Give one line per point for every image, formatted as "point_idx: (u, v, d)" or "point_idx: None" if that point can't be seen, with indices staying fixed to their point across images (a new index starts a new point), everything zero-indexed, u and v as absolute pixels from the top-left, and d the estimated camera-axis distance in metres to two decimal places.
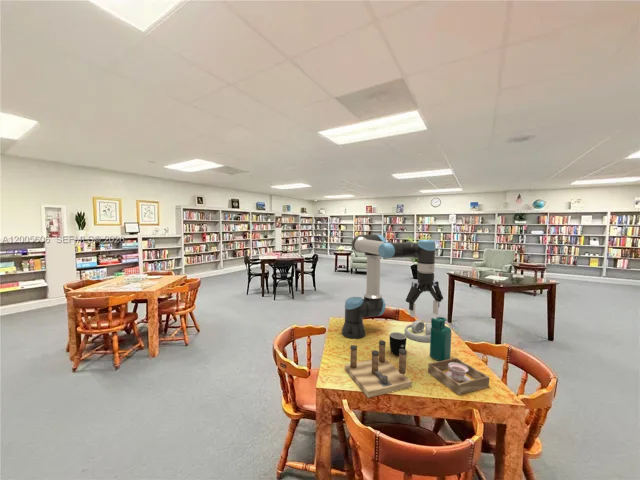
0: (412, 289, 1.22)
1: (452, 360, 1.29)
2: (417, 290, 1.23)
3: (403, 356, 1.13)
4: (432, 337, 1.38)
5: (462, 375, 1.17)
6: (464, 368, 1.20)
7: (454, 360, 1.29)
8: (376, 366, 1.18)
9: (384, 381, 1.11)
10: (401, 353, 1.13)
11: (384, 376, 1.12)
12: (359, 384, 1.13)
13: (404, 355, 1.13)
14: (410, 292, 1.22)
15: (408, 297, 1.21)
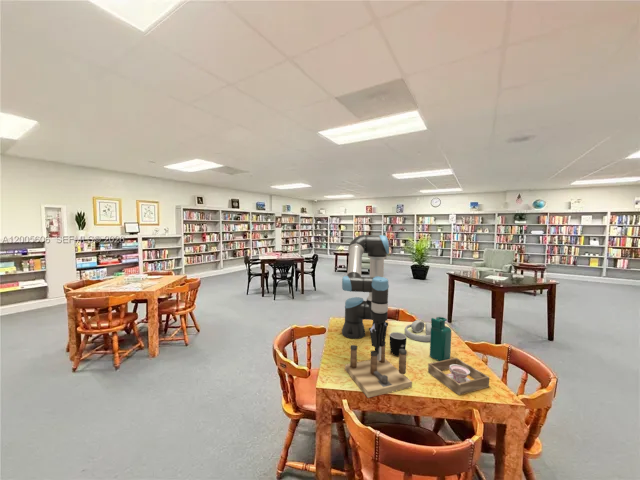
0: None
1: (452, 360, 1.29)
2: None
3: (403, 356, 1.13)
4: (432, 337, 1.38)
5: (463, 377, 1.15)
6: (466, 370, 1.18)
7: (454, 360, 1.29)
8: (375, 366, 1.18)
9: (384, 381, 1.11)
10: (401, 353, 1.13)
11: (384, 376, 1.12)
12: (359, 384, 1.13)
13: (404, 355, 1.13)
14: None
15: None
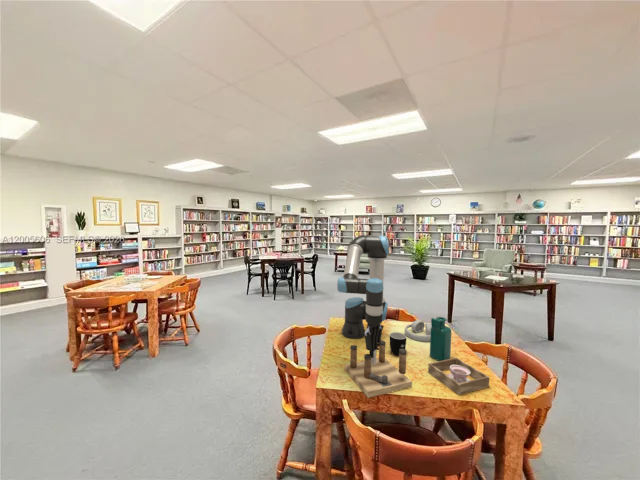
0: None
1: (452, 360, 1.29)
2: None
3: (403, 356, 1.13)
4: (432, 337, 1.38)
5: (464, 378, 1.14)
6: (466, 371, 1.18)
7: (454, 360, 1.29)
8: (370, 369, 1.15)
9: (386, 381, 1.11)
10: (401, 353, 1.13)
11: (384, 376, 1.12)
12: (359, 384, 1.13)
13: (404, 355, 1.13)
14: None
15: None
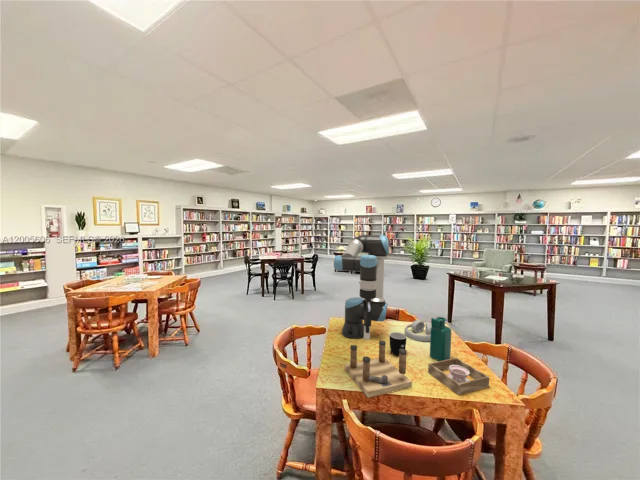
0: None
1: (452, 360, 1.29)
2: None
3: (403, 356, 1.13)
4: (432, 337, 1.38)
5: (463, 378, 1.14)
6: (465, 371, 1.18)
7: (454, 360, 1.29)
8: (369, 372, 1.13)
9: (386, 381, 1.11)
10: (401, 353, 1.13)
11: (384, 376, 1.12)
12: (359, 384, 1.13)
13: (404, 355, 1.13)
14: None
15: None
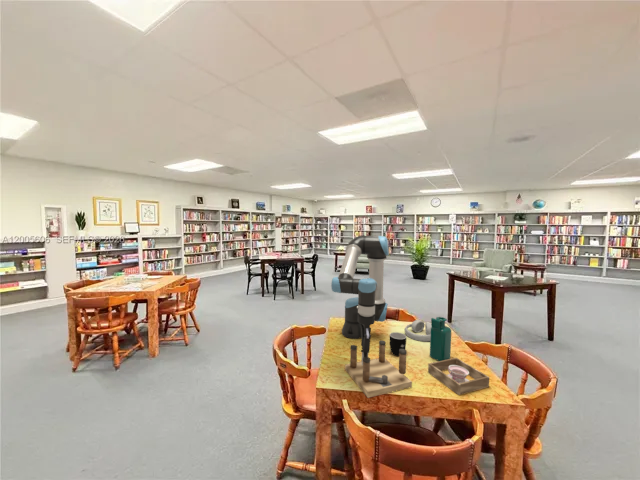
0: None
1: (452, 360, 1.29)
2: None
3: (403, 356, 1.13)
4: (432, 337, 1.38)
5: (463, 378, 1.14)
6: (464, 371, 1.18)
7: (454, 360, 1.29)
8: (369, 372, 1.13)
9: (387, 381, 1.11)
10: (401, 353, 1.13)
11: (384, 376, 1.12)
12: (359, 384, 1.13)
13: (404, 355, 1.13)
14: None
15: None
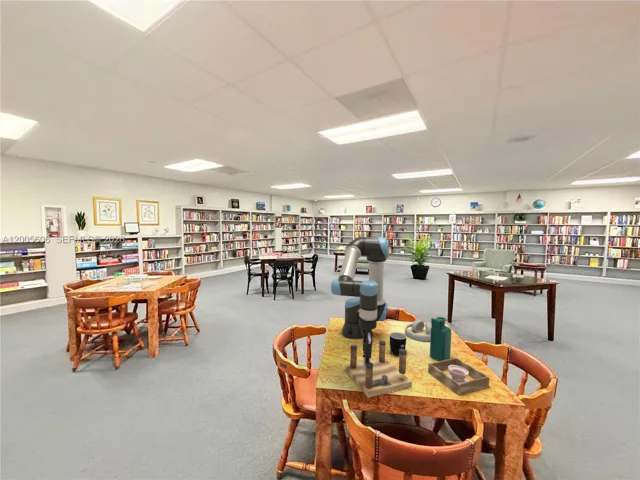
0: None
1: (452, 360, 1.29)
2: None
3: (403, 356, 1.13)
4: (432, 337, 1.38)
5: (462, 378, 1.14)
6: (464, 371, 1.17)
7: (454, 360, 1.29)
8: None
9: (387, 380, 1.12)
10: (401, 353, 1.13)
11: (384, 376, 1.12)
12: (359, 384, 1.13)
13: (404, 355, 1.13)
14: None
15: None
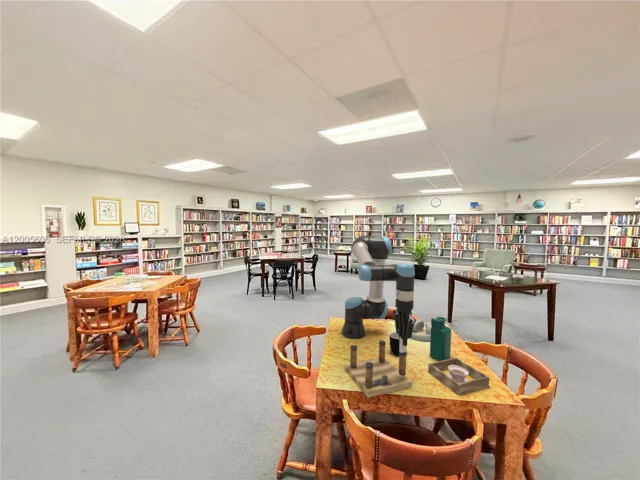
0: None
1: (452, 360, 1.29)
2: None
3: (403, 358, 1.13)
4: (432, 337, 1.38)
5: (462, 378, 1.14)
6: (464, 371, 1.17)
7: (454, 360, 1.29)
8: None
9: (387, 380, 1.12)
10: (401, 355, 1.13)
11: (384, 376, 1.12)
12: (359, 384, 1.13)
13: (404, 357, 1.13)
14: None
15: None
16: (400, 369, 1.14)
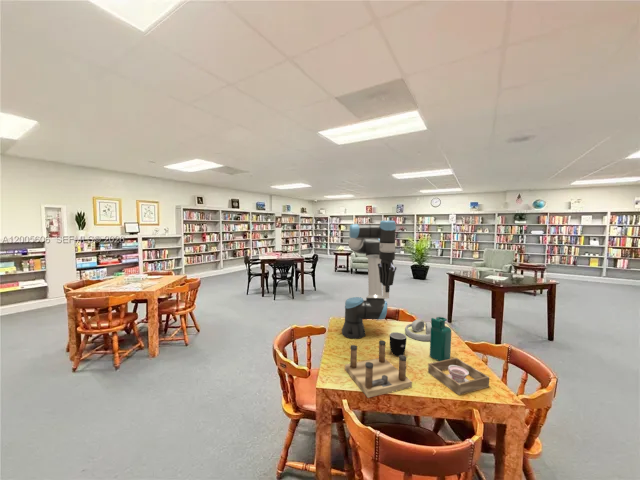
0: None
1: (452, 360, 1.29)
2: None
3: (403, 362, 1.13)
4: (432, 337, 1.38)
5: (462, 378, 1.14)
6: (465, 371, 1.17)
7: (454, 360, 1.29)
8: None
9: (387, 380, 1.12)
10: (401, 359, 1.13)
11: (384, 376, 1.12)
12: (359, 384, 1.13)
13: (404, 361, 1.13)
14: None
15: None
16: (400, 374, 1.14)
